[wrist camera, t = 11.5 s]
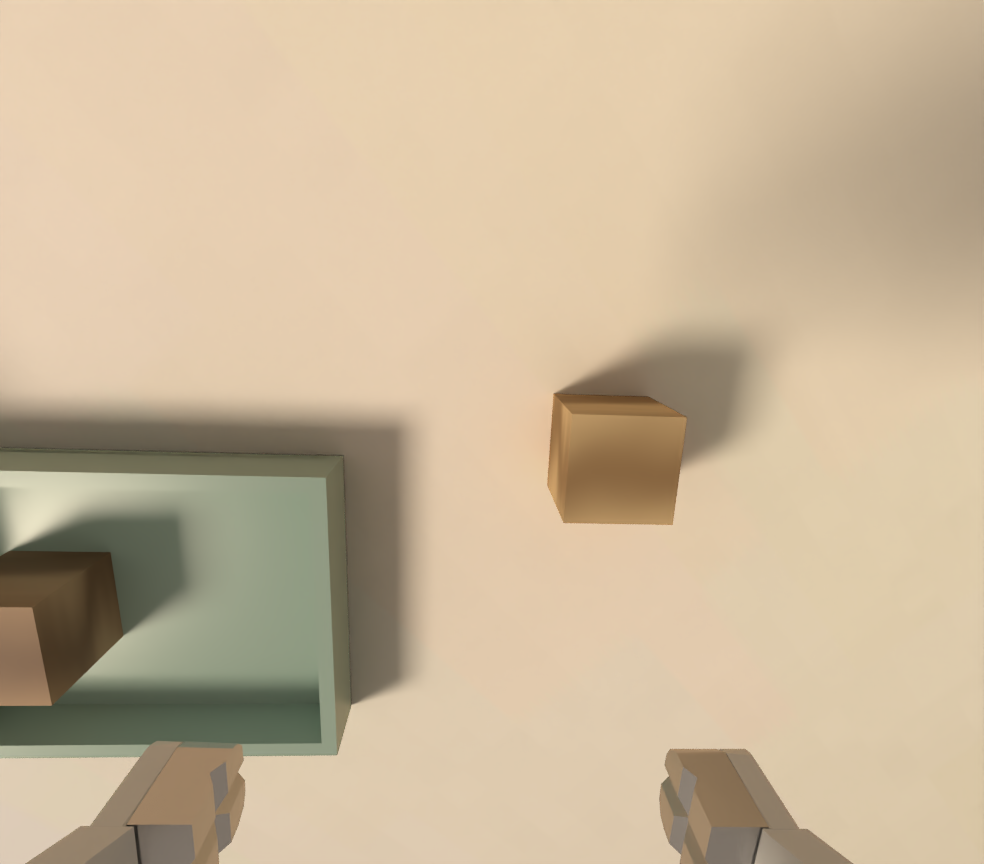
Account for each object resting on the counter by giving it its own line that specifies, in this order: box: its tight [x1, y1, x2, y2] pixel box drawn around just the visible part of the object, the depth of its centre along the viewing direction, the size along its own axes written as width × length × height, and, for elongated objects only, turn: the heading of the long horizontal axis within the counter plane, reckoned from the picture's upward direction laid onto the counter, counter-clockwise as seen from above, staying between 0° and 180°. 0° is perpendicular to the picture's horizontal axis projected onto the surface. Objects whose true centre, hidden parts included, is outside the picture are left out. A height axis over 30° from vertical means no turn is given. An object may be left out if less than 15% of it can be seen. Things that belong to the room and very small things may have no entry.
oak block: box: [547, 394, 687, 525], centre depth 23 cm, size 4×4×4 cm
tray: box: [0, 448, 351, 758], centre depth 24 cm, size 14×18×3 cm
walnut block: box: [0, 551, 123, 706], centre depth 22 cm, size 4×4×4 cm
